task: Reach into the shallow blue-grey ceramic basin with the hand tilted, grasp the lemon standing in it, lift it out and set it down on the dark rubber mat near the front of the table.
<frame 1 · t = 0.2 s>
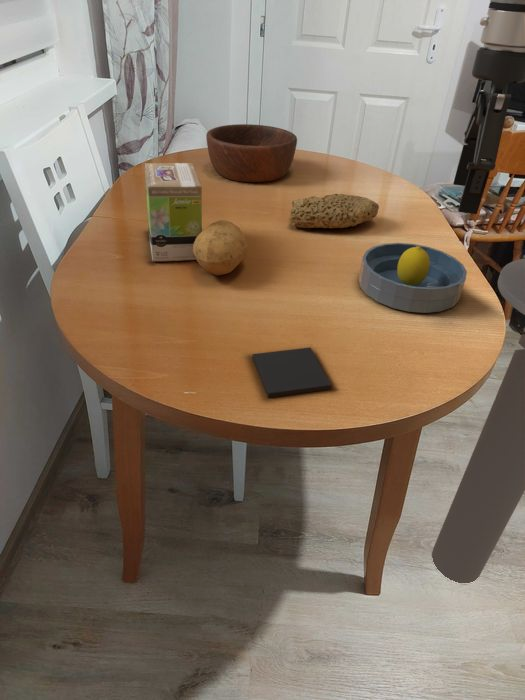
hand: (464, 198, 84), 18 cm above the table, tool pointing down, fingers open, 13 cm apart
sponge: (333, 225, 119), on the table
lemon: (408, 287, 96), resting on basin
mat: (290, 373, 74), on the table
tea box: (175, 246, 106), on the table, touching potato
potato: (219, 270, 98), on the table, touching tea box
wooden bowl: (250, 173, 148), on the table
basin: (408, 288, 96), on the table
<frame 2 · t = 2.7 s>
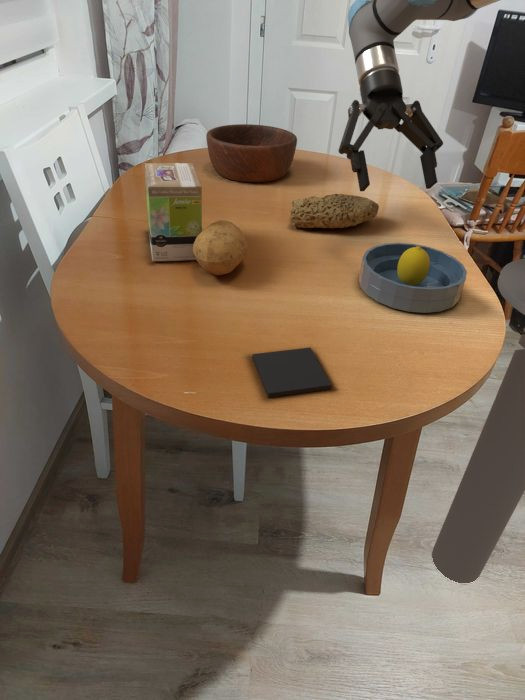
hand: (399, 186, 95), 15 cm above the table, tool tilted 45°, fingers open, 13 cm apart
nothing on the table moved.
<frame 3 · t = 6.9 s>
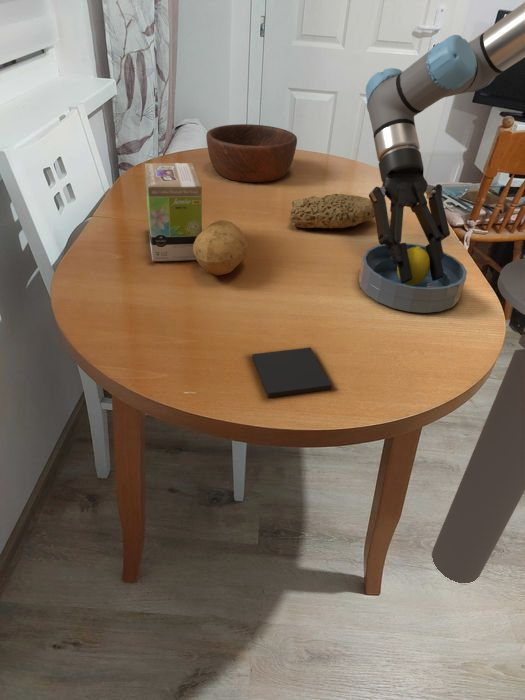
hand: (422, 279, 91), 4 cm above the table, tool tilted 45°, fingers closed on lemon, 5 cm apart
lemon: (408, 287, 96), resting on basin, touching gripper
everything else where it was.
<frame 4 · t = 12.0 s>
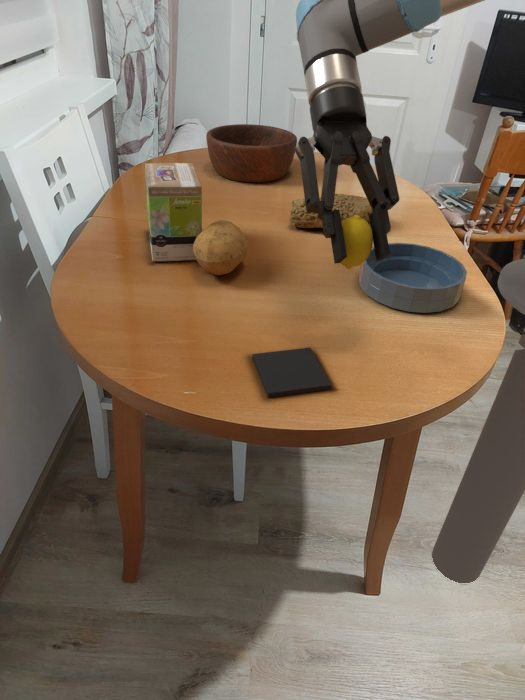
hand: (362, 258, 70), 15 cm above the table, tool tilted 45°, fingers closed on lemon, 5 cm apart
lemon: (347, 269, 75), point 12 cm above the table, touching gripper
everything else where it was.
when the fingers open (4 cm above the table, at t = 16.9 s): lemon stays where it is, resting on mat.
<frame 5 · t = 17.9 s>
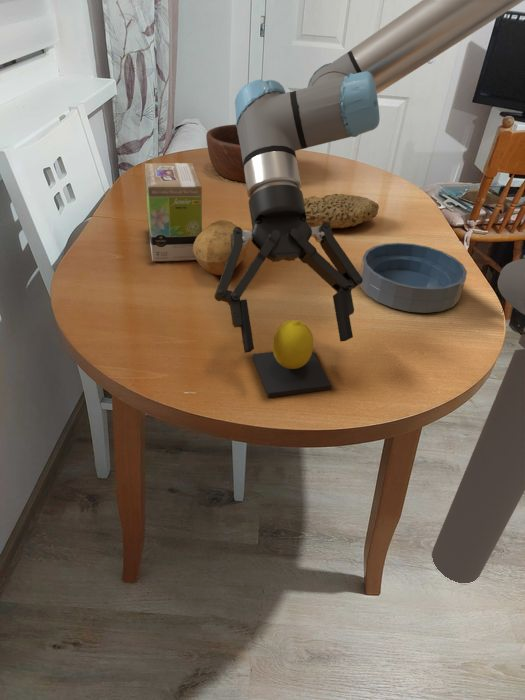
hand: (299, 345, 68), 6 cm above the table, tool tilted 45°, fingers open, 13 cm apart
lemon: (290, 369, 73), point 1 cm above the table, touching mat
everything else where it was.
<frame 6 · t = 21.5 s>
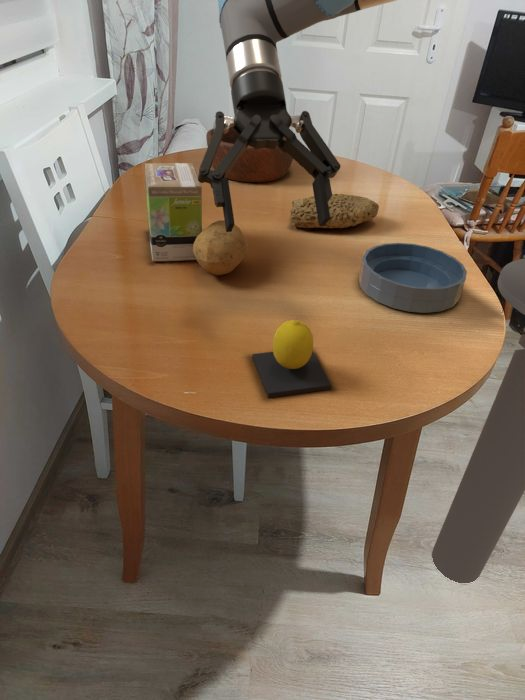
hand: (278, 225, 71), 18 cm above the table, tool tilted 45°, fingers open, 13 cm apart
tea box: (175, 246, 106), on the table
potato: (219, 270, 98), on the table
everything else where it was.
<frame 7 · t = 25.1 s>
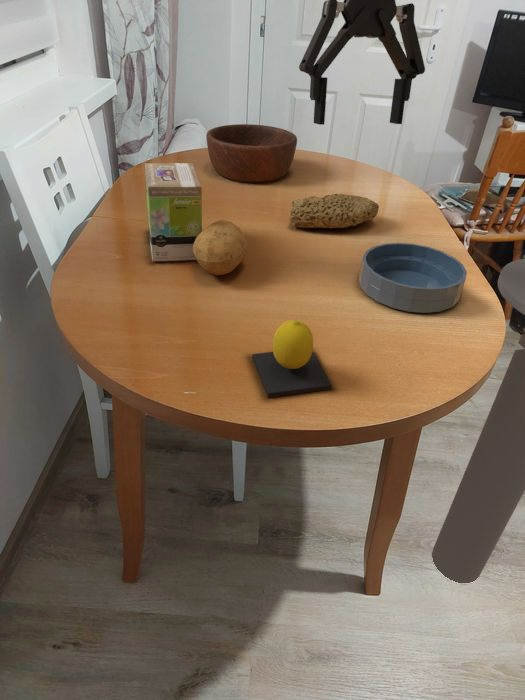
hand: (357, 123, 84), 27 cm above the table, tool pointing down, fingers open, 13 cm apart
tea box: (175, 246, 106), on the table, touching potato
potato: (219, 270, 98), on the table, touching tea box
everything else where it was.
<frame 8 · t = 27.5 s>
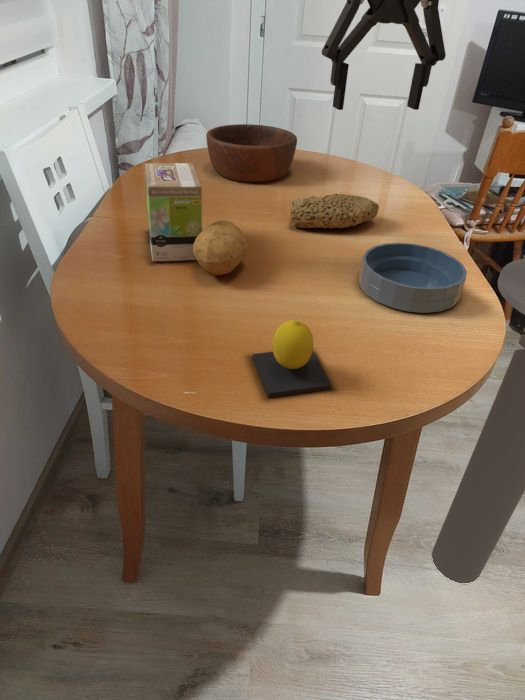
hand: (375, 108, 86), 29 cm above the table, tool pointing down, fingers open, 13 cm apart
tea box: (175, 246, 106), on the table
potato: (219, 270, 98), on the table
everything else where it was.
at the end: lemon inside the target area on the mat (0.1 cm from its centre), point 0.6 cm above the mat's base; lemon touching mat; the gripper is holding nothing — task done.
